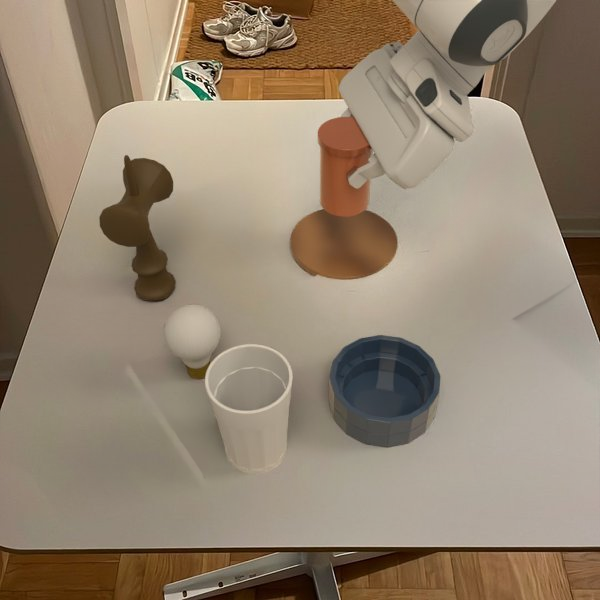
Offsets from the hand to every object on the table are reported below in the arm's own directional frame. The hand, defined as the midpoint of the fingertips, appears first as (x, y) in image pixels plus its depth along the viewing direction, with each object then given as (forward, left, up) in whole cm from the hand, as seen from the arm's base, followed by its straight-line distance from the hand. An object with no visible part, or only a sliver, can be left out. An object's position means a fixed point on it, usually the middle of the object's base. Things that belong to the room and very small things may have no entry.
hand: (341, 164), depth 88 cm
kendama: (+24, -7, -13) cm, 28 cm away
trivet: (0, 0, -13) cm, 13 cm away
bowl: (+12, +23, -13) cm, 29 cm away
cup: (+26, +20, -13) cm, 35 cm away
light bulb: (+26, +8, -13) cm, 30 cm away
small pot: (-1, 0, -6) cm, 6 cm away
